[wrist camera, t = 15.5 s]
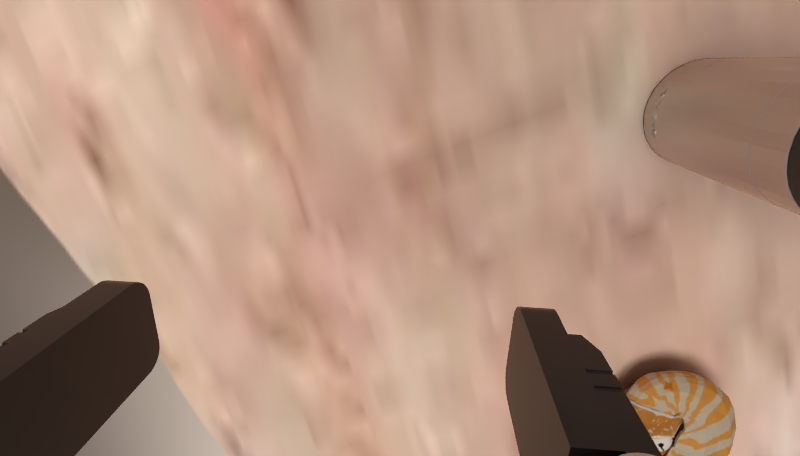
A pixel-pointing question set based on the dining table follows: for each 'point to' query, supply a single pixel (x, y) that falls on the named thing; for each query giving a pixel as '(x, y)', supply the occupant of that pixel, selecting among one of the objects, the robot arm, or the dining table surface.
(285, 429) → the dining table surface
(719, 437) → the nautilus
